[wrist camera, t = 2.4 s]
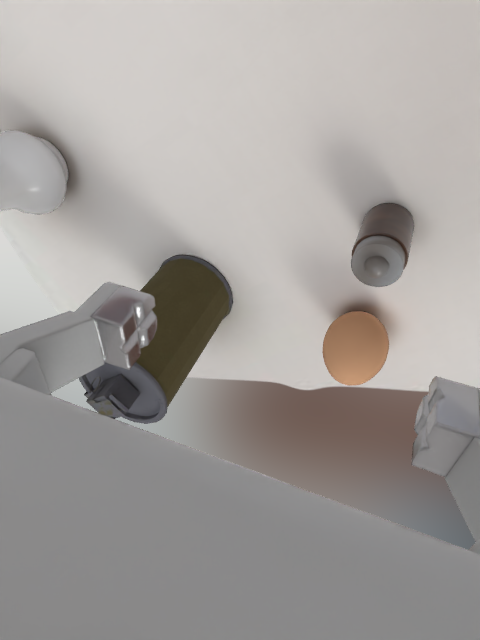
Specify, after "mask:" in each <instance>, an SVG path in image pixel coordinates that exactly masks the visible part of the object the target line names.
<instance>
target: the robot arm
mask: <svg viewBox="0 0 480 640" xmlns="http://www.w3.org/2000/svg"><path fill="white" fill-rule="evenodd" d="M155 306H156V305H155V298H154V296H152V295H150V294H147V293H144V292H141V291H138V290H135V289H131V288H128V287H125V286H121V285H118V284H115V283H111V282H107V283H104V284H103V285H102V286H101V287H100V288H99V289H98V290H97V291H96V292H95V293H94V294H93V295H92V296H91V297H90V298H89V299H87V300H86V301H85V302H84V303H83V304H82V305H81V306H80V307H79V308H78V309H77V310H76V311H75V312H72V311H69V312H66V313H63V314H60V315H57V316H54V317H51V318H48V319H45V320H42V321H39V322H36V323H33V324H30V325H27V326H24V327H21V328H19V329H15V330H13V331H10V332H6V333H3V334H1V335H0V640H480V388H475V387H473V386H469V385H465V384H462V383H458V382H455V381H451V380H447V379H444V378H440V377H437V376H435V378H434V379H433V380H432V382H431V384H430V386H429V395H426V396H424V397H423V399H422V401H421V403H420V406H419V409H418V412H417V415H416V421H415V429H414V430H415V431H416V433H417V435H418V436H417V437H416V439H415V441H414V443H413V451H412V463H411V464H412V465H413V466H416V467H418V468H421V469H424V470H427V471H429V472H432V473H435V474H438V475H440V476H443V477H445V481H446V482H447V485H448V487H449V489H450V491H451V493H452V495H453V497H454V499H455V501H456V503H457V505H458V507H459V509H460V511H461V513H462V515H463V517H464V519H465V521H466V523H467V525H468V528H469V530H470V532H471V533H472V536H473V538H474V540H475V542H476V543H475V544H474V545H473V546H472V547H471V548H470V549H468V550H466V549H464V548H461V547H458V546H456V545H453V544H450V543H448V542H445V541H442V540H440V539H437V538H434V537H432V536H429V535H426V534H423V533H420V532H418V531H415V530H413V529H410V528H407V527H404V526H402V525H399V524H396V523H394V522H391V521H388V520H386V519H383V518H380V517H378V516H375V515H372V514H369V513H367V512H364V511H361V510H359V509H356V508H353V507H350V506H348V505H345V504H342V503H340V502H337V501H334V500H332V499H329V498H326V497H323V496H320V495H318V494H315V493H313V492H310V491H307V490H304V489H302V488H299V487H296V486H293V485H291V484H288V483H285V482H283V481H280V480H277V479H275V478H272V477H269V476H266V475H264V474H261V473H258V472H256V471H253V470H250V469H247V468H245V467H242V466H239V465H237V464H234V463H231V462H229V461H226V460H223V459H221V458H218V457H215V456H212V455H210V454H207V453H204V452H202V451H199V450H196V449H194V448H191V447H188V446H186V445H183V444H180V443H177V442H175V441H172V440H169V439H166V438H164V437H161V436H159V435H156V434H153V433H150V432H148V431H145V430H143V429H140V428H137V427H134V426H132V425H129V424H126V423H123V422H121V421H118V420H115V419H113V418H110V417H107V416H105V415H102V414H99V413H97V412H94V411H91V410H88V409H86V408H83V407H80V406H77V405H75V404H72V403H70V402H67V401H64V400H61V399H59V398H56V397H53V396H52V395H51V393H52V392H53V391H55V390H57V389H59V388H61V387H63V386H65V385H66V384H68V383H70V382H72V381H74V380H76V379H78V378H79V377H81V376H83V375H85V374H87V373H89V372H90V371H92V370H94V369H96V368H98V367H100V366H102V365H103V364H105V363H108V364H112V365H115V366H118V367H121V368H125V369H128V370H130V368H131V367H132V366H133V365H134V363H135V362H136V361H137V359H138V358H139V357H140V355H141V352H140V348H143V347H145V346H147V345H149V344H150V342H151V341H152V339H153V338H154V335H155V333H156V330H157V316H156V315H155V313H154V312H153V311H152V309H153V308H154V307H155ZM104 362H105V363H104Z"/></svg>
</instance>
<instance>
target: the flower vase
mask: <svg viewBox="0 0 480 640" xmlns="http://www.w3.org/2000/svg"><path fill="white" fill-rule="evenodd" d="M68 176H69V174H68V168H67V165H66V162H65V160H64V158H63V156H62V154H61V153H60V152H59V150H58V149H57V148H56V147H55V146H54V145H53V144H52V143H50V142H49V141H47V140H45V139H43V138H40V137H35V136H33V135H30V134H27V133H25V132H22V131H14V130H8V131H5V132H2V133H0V211H2V210H11V209H15V210H18V211H21V212H23V213H28V214H35V215H40V214H45V213H49V212H52V211H54V210H55V209H57V208H58V207H59V206H60V205H61V204H62V202H63V200H64V198H65V194H66V186H67V185H66V183H67V181H68Z"/></svg>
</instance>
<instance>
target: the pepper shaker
mask: <svg viewBox="0 0 480 640" xmlns="http://www.w3.org/2000/svg"><path fill="white" fill-rule="evenodd" d="M413 231H414V220H413V217H412V215H411V214H410V213H409V211H408V210H407V209H405V208H404V207H402V206H400V205H397V204H392V203H385V204H380V205H378V206H375V207H374V208H372V209H371V210H370V211H369V212H368V213H367V214H366V216H365V218H364V220H363V223H362V226H361V228H360V231H359V234H358V236H357V239H356V242H355V244H354V247H353V250H352V260H351V268H352V271H353V273H354V275H355V276H356V277H357V279H359V280H360V281H361V282H363V283H365V284H367V285H370V286H374V287H383V286H387V285H390V284H392V283H394V282H395V281H397V280H398V279H399V278H400V276H401V275H402V272H403V270H404V268H405V267H406V265H407V262H408V257H409V252H410V247H411V242H412V237H413Z"/></svg>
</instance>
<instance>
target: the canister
mask: <svg viewBox="0 0 480 640" xmlns="http://www.w3.org/2000/svg"><path fill="white" fill-rule="evenodd" d="M140 291H141V292H144V293H147V294H150V295H152V296H154V298H155V305H156V306H155V307H154V308H153V309H152V311H153V312H154V313H155V315H156V316H157V330H156V333H155V335H154V338H153V339H152V341H151V342H150V344H149V345H147V346H145V347H143V348H140V352H141V355H140V357H139V358H138V359H137V361H136V362H135V363H134V365H133V366H132V367H131V368H130V370H128V369H125V368H121V367H118V366H115V365H112V364H108V363H105V362H104V363H105V364H103V365H102V366H100V367H98V368H96V369H94V370H92V371H90V372H89V373H87V374H85V375H83V376H81V377H79V380H80V382H81V383H82V385H83V387H84V388H85V389H86V391H87V392H86V393H85V394H84V395H85V396H86V397H87V398H88V399H87V402H88V403H89V404H90V405H91V406H92V407H93V408H94V409H95V410H96V411H97V412H98V413H99V414H102V415H105V416H107V417H110V418H113V419H115V418H118V417H123V418H126V419H128V420H131V421H133V422H139V423H144V424H148V423H154V422H157V421H159V420H161V419H162V418H163V417H164V416H165V414H166V413H167V407H168V406H169V404H170V402H171V401H172V399H173V398H174V396H175V394H176V393H177V391H178V390H179V388H180V386H181V385H182V383H183V381H184V380H185V379H186V377H187V375H188V374H189V372H190V371H191V369H192V367H193V366H194V364H195V363H196V361H197V359H198V358H199V356H200V355H201V353H202V351H203V350H204V348H205V347H206V345H207V343H208V342H209V340H210V339H211V337H212V335H213V334H214V332H215V331H216V329H217V328H218V326H219V324H220V323H221V321H222V320H223V319H224V318H225V317H226V316H227V315H228V314H229V313H230V310H231V307H232V303H233V300H232V293H231V290H230V287H229V284H228V283H227V281H226V280H225V278H224V277H223V276H222V274H221V273H220V272H219V271H218V270H217V269H215V268H214V267H213V266H212V265H210V264H209V263H208V262H206V261H204V260H202V259H199V258H196V257H193V256H188V255H177V256H174V257H171V258H169V259H167V260H166V261H165V262H164V263H163V264H162V265H161V267H160V269H159V271H158V272H157V273H156V274H155V275H154V276H153V277H152V278H151V279H150V281H149V282H148V283H147V284H146V285H145V286H144V287H143V288H142V289H141V290H140Z"/></svg>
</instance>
